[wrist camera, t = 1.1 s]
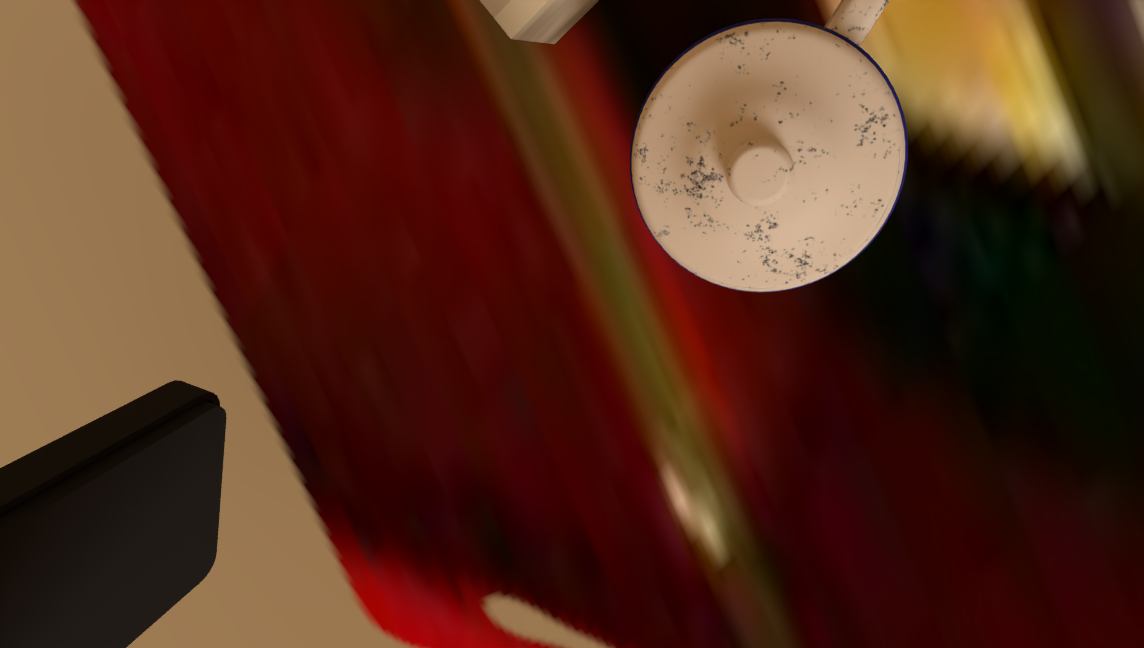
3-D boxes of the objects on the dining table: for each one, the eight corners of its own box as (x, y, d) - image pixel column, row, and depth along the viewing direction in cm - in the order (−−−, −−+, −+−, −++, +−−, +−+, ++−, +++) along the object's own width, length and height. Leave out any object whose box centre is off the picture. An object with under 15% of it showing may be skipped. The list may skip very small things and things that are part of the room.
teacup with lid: (793, 279, 35) (799, 372, 24) (627, 175, 35) (560, 222, 24) (972, 35, 30) (1079, 16, 19) (776, -80, 30) (774, -162, 20)
